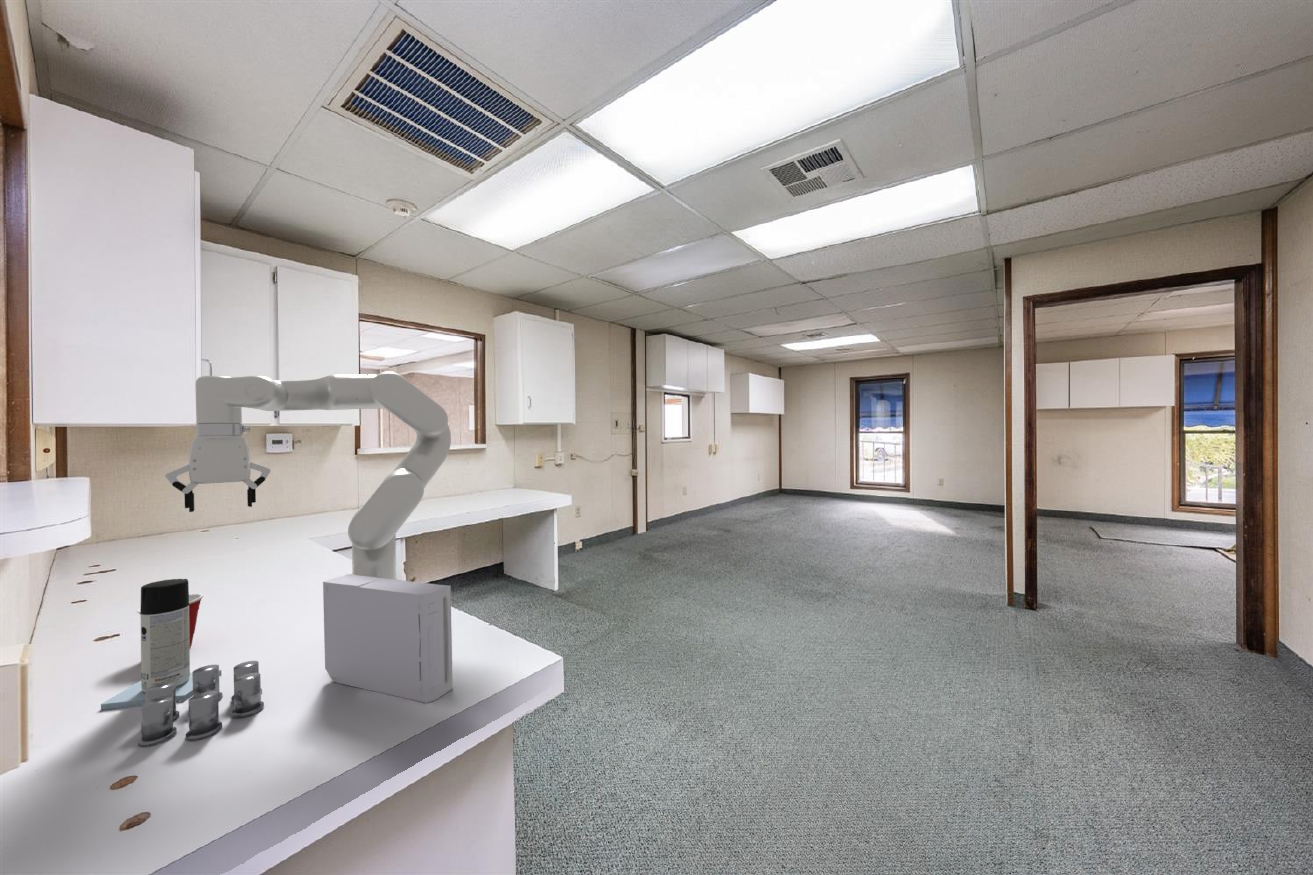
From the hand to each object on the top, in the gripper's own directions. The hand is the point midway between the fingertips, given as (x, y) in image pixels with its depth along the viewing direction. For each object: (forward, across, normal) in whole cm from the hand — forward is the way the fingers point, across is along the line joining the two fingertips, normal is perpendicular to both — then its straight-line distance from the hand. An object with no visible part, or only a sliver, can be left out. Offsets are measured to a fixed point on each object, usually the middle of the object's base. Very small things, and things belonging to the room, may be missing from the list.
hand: (221, 508), depth 108 cm
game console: (+34, -24, +39) cm, 57 cm away
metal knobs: (+33, +3, +28) cm, 44 cm away
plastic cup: (+34, +9, -12) cm, 37 cm away
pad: (+33, +9, +11) cm, 36 cm away
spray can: (+32, +8, +11) cm, 35 cm away
